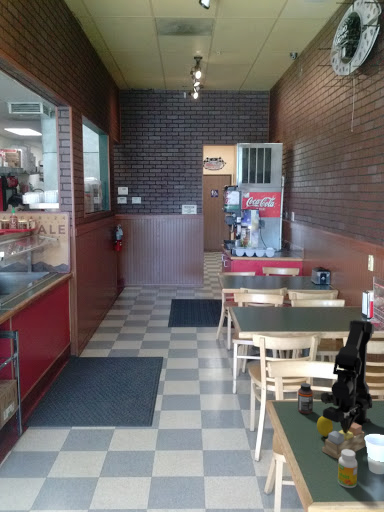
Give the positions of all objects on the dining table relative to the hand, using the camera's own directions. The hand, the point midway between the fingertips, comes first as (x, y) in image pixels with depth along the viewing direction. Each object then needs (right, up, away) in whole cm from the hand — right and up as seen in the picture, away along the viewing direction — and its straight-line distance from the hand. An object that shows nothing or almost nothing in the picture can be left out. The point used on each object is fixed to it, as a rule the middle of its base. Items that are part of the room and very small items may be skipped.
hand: (345, 432), depth 161 cm
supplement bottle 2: (-6, -8, -20) cm, 22 cm away
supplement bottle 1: (-6, -3, +30) cm, 31 cm away
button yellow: (0, -4, 0) cm, 4 cm away
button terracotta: (+4, -3, +3) cm, 6 cm away
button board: (0, -6, 0) cm, 6 cm away
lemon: (-5, -5, +9) cm, 11 cm away
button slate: (-4, -3, -3) cm, 6 cm away
